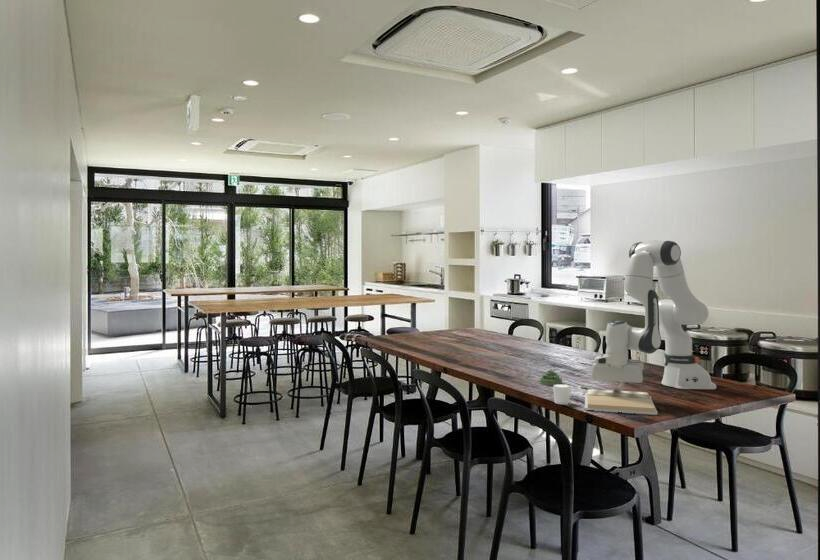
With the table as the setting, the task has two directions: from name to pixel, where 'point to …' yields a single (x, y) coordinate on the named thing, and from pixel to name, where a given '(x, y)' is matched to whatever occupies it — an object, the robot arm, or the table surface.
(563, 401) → the white cylinder
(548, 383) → the decorative artifact
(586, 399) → the cream square board
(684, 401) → the table surface
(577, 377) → the table surface
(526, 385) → the table surface
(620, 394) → the tilted plank
